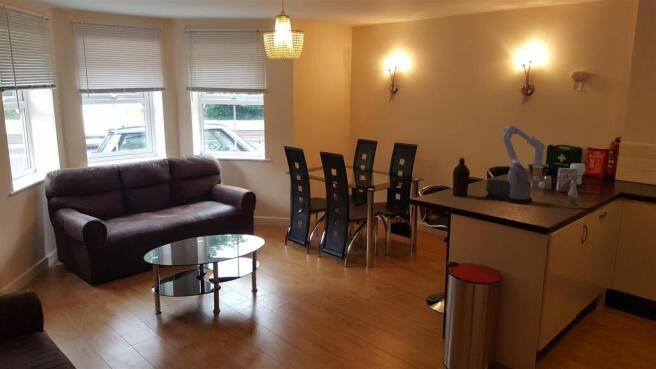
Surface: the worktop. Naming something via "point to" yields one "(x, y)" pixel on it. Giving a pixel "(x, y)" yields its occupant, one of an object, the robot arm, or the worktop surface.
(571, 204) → the candle holder
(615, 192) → the worktop surface
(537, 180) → the spacer
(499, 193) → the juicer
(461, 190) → the olive oil
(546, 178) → the spacer
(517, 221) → the worktop surface
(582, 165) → the cup
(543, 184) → the scale
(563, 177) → the candy bar box
